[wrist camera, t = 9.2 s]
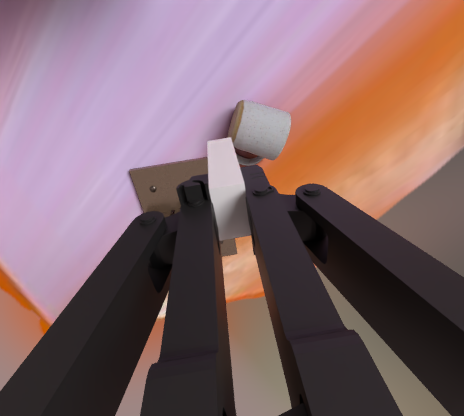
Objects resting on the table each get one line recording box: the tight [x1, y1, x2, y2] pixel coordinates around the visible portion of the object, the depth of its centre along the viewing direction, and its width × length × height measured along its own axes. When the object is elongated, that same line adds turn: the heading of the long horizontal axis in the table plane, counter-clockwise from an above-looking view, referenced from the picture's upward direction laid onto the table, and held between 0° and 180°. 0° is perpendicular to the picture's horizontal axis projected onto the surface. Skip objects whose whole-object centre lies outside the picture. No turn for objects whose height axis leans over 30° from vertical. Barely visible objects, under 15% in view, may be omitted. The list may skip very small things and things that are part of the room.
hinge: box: [129, 157, 237, 256], centre depth 51 cm, size 16×22×4 cm
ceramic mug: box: [227, 100, 291, 166], centre depth 43 cm, size 11×8×8 cm
